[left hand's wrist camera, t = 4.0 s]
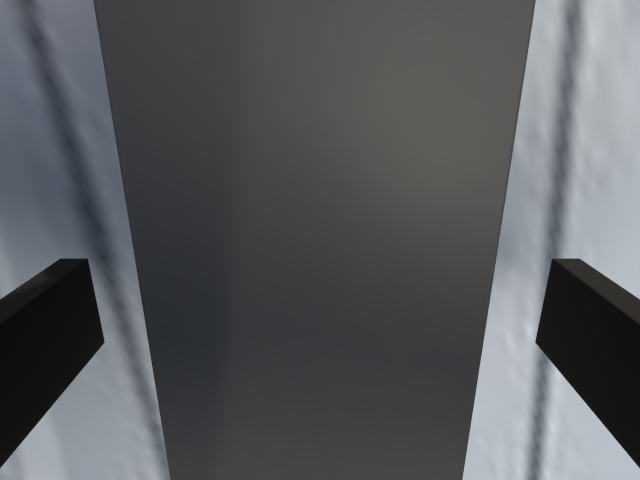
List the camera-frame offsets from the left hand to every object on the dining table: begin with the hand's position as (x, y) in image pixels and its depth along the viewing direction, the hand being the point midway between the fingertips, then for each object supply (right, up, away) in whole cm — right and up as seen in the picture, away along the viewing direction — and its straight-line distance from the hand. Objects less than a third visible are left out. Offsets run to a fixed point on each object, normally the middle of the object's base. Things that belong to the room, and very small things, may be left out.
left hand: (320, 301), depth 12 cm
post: (0, +21, -5) cm, 22 cm away
